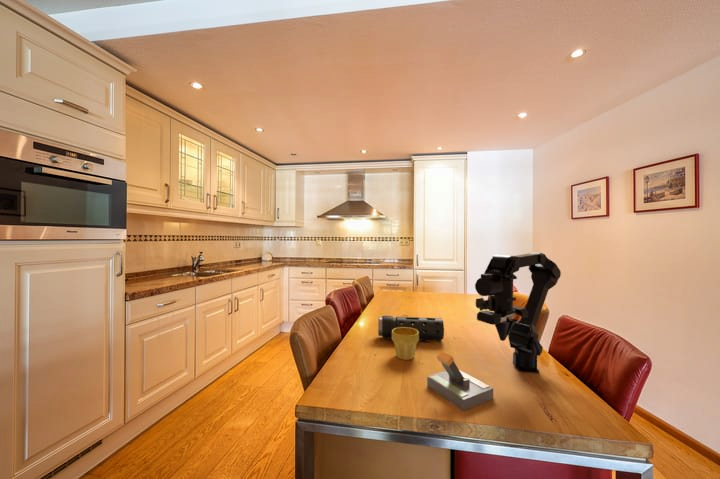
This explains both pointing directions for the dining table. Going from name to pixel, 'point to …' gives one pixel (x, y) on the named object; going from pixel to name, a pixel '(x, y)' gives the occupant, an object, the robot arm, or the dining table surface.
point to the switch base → (460, 390)
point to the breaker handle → (450, 367)
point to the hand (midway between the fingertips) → (502, 340)
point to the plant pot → (405, 342)
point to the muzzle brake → (428, 331)
